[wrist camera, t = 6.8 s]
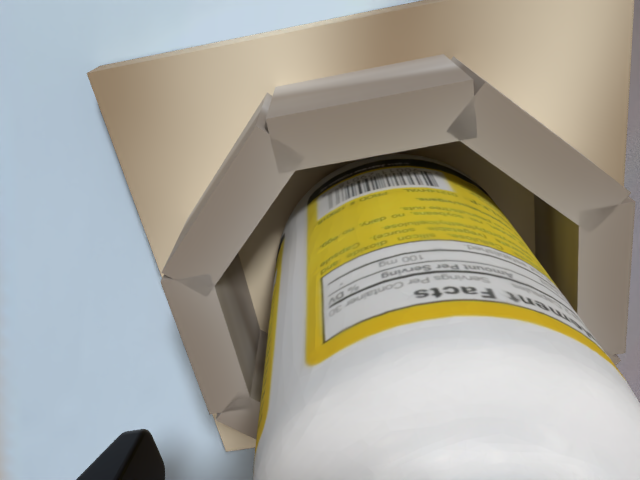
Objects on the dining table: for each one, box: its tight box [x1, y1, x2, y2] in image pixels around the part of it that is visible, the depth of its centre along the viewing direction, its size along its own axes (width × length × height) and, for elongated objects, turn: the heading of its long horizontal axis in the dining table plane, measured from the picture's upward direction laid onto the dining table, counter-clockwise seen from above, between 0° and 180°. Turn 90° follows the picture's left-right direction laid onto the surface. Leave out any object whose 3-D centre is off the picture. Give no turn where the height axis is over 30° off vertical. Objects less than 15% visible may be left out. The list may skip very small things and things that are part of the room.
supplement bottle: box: [253, 154, 640, 480], centre depth 9 cm, size 5×5×10 cm
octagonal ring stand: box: [87, 0, 635, 452], centre depth 13 cm, size 11×11×3 cm
